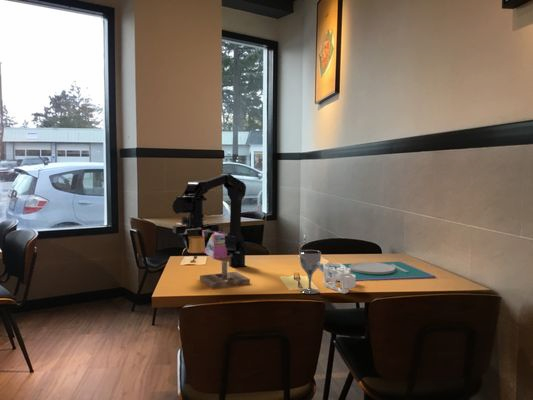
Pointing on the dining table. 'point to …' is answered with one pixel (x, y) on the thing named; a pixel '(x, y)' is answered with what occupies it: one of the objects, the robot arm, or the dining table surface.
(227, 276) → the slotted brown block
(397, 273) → the place mat
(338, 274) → the clear lumpy piece
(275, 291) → the dining table surface
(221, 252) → the gum box
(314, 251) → the wine glass
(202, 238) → the notched tan hollow cylinder
